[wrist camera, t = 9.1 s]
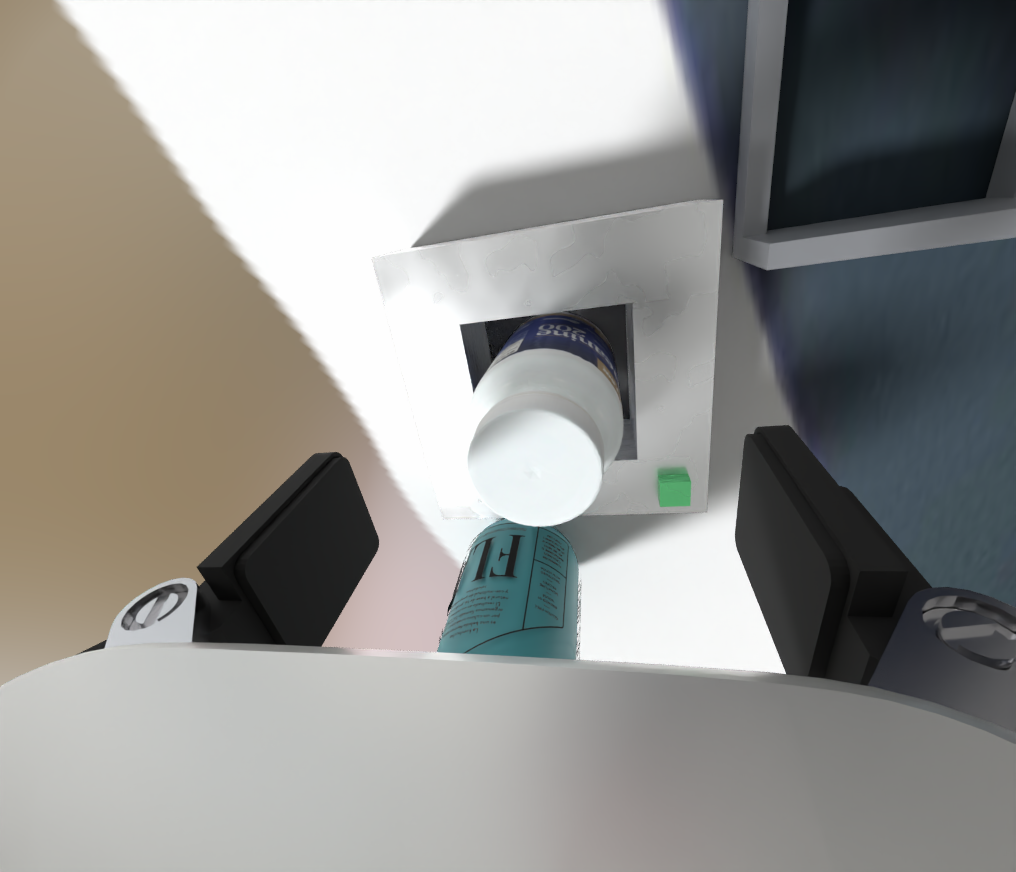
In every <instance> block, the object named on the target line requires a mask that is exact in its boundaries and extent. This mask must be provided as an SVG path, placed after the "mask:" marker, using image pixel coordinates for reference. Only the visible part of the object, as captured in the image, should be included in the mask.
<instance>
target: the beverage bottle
mask: <svg viewBox="0 0 1016 872" xmlns="http://www.w3.org/2000/svg"><path fill="white" fill-rule="evenodd" d="M477 536H478V535H477ZM477 536H476V537H477ZM476 537H475V538H476ZM471 543H472V542H471ZM470 548H471V547H470ZM470 548H469V549H470ZM469 549H468V550H469ZM467 552H468V551H467ZM464 560H465V559H464ZM465 562H466V561H465ZM463 564H464V562H463ZM465 564H466V565H465ZM465 564H464V565H465V567H464V565H462V568H463V567H464V569H463V572H462V568H461V571H460V574H459V577H458V581H457V584H456V587H455V590H454V594H453V599H452V601H451V603H450V605H449V607H448V612H449V610H450V609H451V611H450V613H449V617H448V620H447V623H446V626H445V629H444V632H443V633H442V634H443V635H442V638H441V639H440V640H441V641H440V642H439V643H440V644H439V647H438V650H437V652H442V653H461V654H480V655H500V656H519V657H537V658H555V659H572V660H576V653H577V652H578V650H579V648H578V650H577V652H576V646H577V643H578V642H577V635H578V634H577V624H578V622H579V620H578V622H577V619H578V618H577V614H578V612H579V611H578V610H577V607H578V600H579V599H578V587H579V586H578V562H577V558H576V556H575V553H574V551H573V548H572V546H571V545H570V543H569V542H568V540H567V539H566V538H565V537H564V536H563V535H562V534H561V533H560V532H558V531H557V530H556V529H554V528H552V527H551V526H541V527H540V526H528V525H523V524H519V523H515V522H512V521H510V520H508V519H504V520H500V521H498V522H495V523H493V524H491V525H490V526H488V527H487V528H486V529H484V530H483V531H482V532H481V533H480V535H479V536H478V537H477V539H476V540H475V542H474V543H473V545H472V548H471V550H470V553H469V556H468V559H467V562H466V563H465ZM461 573H462V575H461ZM460 575H461V578H460ZM459 578H460V579H461V580H459ZM580 581H581V580H580ZM458 582H460V584H459V583H458ZM458 584H459V587H458ZM579 585H580V584H579ZM457 587H458V589H457ZM580 588H581V585H580ZM580 593H581V592H580ZM579 597H580V596H579ZM579 602H581V600H580V601H579ZM452 604H453V605H452ZM580 605H581V604H579V606H580ZM451 606H452V607H451ZM579 608H580V607H578V609H579ZM577 611H578V612H577ZM579 614H580V616H581V608H580V612H579ZM447 616H448V615H447ZM578 617H579V615H578ZM579 618H580V617H579ZM579 630H580V628H579ZM579 644H580V643H579ZM579 644H578V645H579ZM577 647H578V646H577ZM578 654H579V652H578ZM578 654H577V657H578ZM578 658H580V656H579V657H578ZM577 660H578V659H577Z"/></svg>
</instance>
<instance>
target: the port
mask: <svg viewBox="0 0 1016 872" xmlns="http://www.w3.org/2000/svg"><path fill="white" fill-rule="evenodd" d="M722 214H723V199H712V200H692V201H686V202H680V203H674V204H668V205H662V206H657V207H651V208H645V209H639V210H633V211H627V212H621V213H615V214H609V215H603V216H597V217H591V218H585V219H579V220H573V221H567V222H561V223H556V224H550V225H544V226H538V227H532V228H526V229H520V230H514V231H508V232H502V233H496V234H490V235H484V236H478V237H472V238H466V239H460V240H455V241H449V242H443V243H437V244H431V245H425V246H419V247H413V248H408V249H404V250H400V251H396V252H392V253H388V254H384V255H381V256H377V257H373V258H372V262H373V266H374V269H375V273H376V277H377V280H378V284H379V287H380V291H381V295H382V298H383V302H384V306H385V309H386V313H387V317H388V320H389V324H390V328H391V331H392V335H393V339H394V342H395V346H396V349H397V353H398V357H399V360H400V364H401V368H402V371H403V375H404V379H405V382H406V386H407V390H408V393H409V397H410V400H411V404H412V408H413V411H414V415H415V419H416V422H417V426H418V430H419V433H420V437H421V441H422V444H423V448H424V452H425V455H426V459H427V462H428V466H429V470H430V473H431V477H432V481H433V484H434V488H435V492H436V495H437V499H438V503H439V506H440V510H441V514H442V517H443V519H479V518H504V517H502V516H499V515H498V514H496V513H495V512H494V511H492V510H491V509H490V508H488V507H487V506H486V505H485V504H484V503H483V502H482V500H481V499H480V498H479V497H478V495H477V494H476V492H475V490H474V489H473V487H472V484H471V482H470V479H469V475H468V471H467V457H468V451H469V447H470V439H469V435H468V427H467V416H468V409H469V405H470V401H471V398H472V396H473V393H474V391H475V389H476V387H477V385H478V383H479V382H480V380H481V379H482V377H483V376H484V374H485V373H486V371H487V370H488V368H489V367H490V365H491V364H492V360H491V354H490V348H489V343H488V337H487V332H486V326H485V321H492V320H500V319H508V318H516V317H523V316H531V315H539V314H547V313H555V312H563V311H571V310H579V309H587V308H595V307H603V306H611V305H619V304H625V309H626V335H627V361H628V387H629V413H630V419H623V437H622V441H621V445H620V448H619V451H618V453H617V455H616V457H615V459H614V461H613V463H612V464H611V466H610V467H609V468H608V470H607V471H606V472H605V473H604V475H603V482H602V485H601V488H600V491H599V493H598V495H597V497H596V499H595V500H594V502H593V503H592V504H591V505H590V507H589V508H587V509H586V510H585V511H584V512H583V513H582V514H580V515H579V516H589V515H626V514H663V513H699V512H707V501H708V482H709V463H710V444H711V424H712V405H713V386H714V367H715V348H716V329H717V310H718V290H719V271H720V252H721V233H722Z"/></svg>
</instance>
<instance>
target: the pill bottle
mask: <svg viewBox="0 0 1016 872" xmlns="http://www.w3.org/2000/svg"><path fill="white" fill-rule="evenodd" d="M467 427H468V435H469V439H470V447H469V451H468V457H467V471H468V475H469V479H470V482H471V484H472V487H473V489H474V490H475V492H476V494H477V495H478V497H479V498H480V499H481V500H482V502H483V503H484V504H485V505H486V506H487V507H488V508H490V509H491V510H492V511H494V512H495V513H496V514H498V515H499V516H502V517H504V518H506V519H508V520H510V521H512V522H515V523H519V524H523V525H528V526H540V527H541V526H553V525H557V524H561V523H564V522H567V521H570V520H572V519H573V518H575V517H577V516H579V515H580V514H582V513H583V512H584V511H585V510H586V509H587V508H589V507H590V505H591V504H592V503H593V502H594V500H595V499H596V497H597V495H598V493H599V491H600V488H601V485H602V482H603V475H604V473H605V472H606V471H607V470H608V468H609V467H610V466H611V464H612V463H613V461H614V459H615V457H616V455H617V453H618V451H619V448H620V445H621V441H622V437H623V412H622V403H621V397H620V389H619V383H618V376H617V369H616V363H615V358H614V354H613V351H612V348H611V345H610V343H609V341H608V340H607V338H606V336H605V335H604V334H603V333H602V331H601V330H600V329H599V328H598V327H597V326H596V325H595V324H593V323H592V322H590V321H589V320H587V319H585V318H583V317H581V316H579V315H575V314H571V313H568V312H555V313H547V314H540V315H537V316H535V317H533V318H531V319H529V320H527V321H526V322H524V323H523V324H522V325H520V326H519V327H518V328H517V329H516V330H515V331H514V333H513V334H512V335H511V336H510V338H509V339H508V340H507V342H506V343H505V345H504V346H503V348H502V349H501V350H500V352H499V353H498V355H497V356H496V358H495V359H494V361H493V362H492V364H491V365H490V367H489V368H488V370H487V371H486V373H485V374H484V376H483V377H482V379H481V380H480V382H479V383H478V385H477V387H476V389H475V391H474V393H473V396H472V398H471V401H470V405H469V409H468V416H467Z"/></svg>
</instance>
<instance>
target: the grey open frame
mask: <svg viewBox="0 0 1016 872" xmlns="http://www.w3.org/2000/svg"><path fill="white" fill-rule="evenodd" d="M787 9H788V0H749V2H748V17H747V33H746V49H745V65H744V80H743V96H742V112H741V128H740V143H739V159H738V175H737V191H736V206H735V222H734V238H733V254H732V257H734V258H736V259H739V260H741V261H744V262H747V263H749V264H752V265H755V266H757V267H760V268H762V269H765V270H773V269H781V268H788V267H796V266H803V265H811V264H818V263H826V262H833V261H841V260H849V259H856V258H864V257H871V256H879V255H886V254H894V253H901V252H909V251H917V250H924V249H932V248H939V247H947V246H954V245H962V244H970V243H977V242H985V241H992V240H1000V239H1007V238H1015V237H1016V92H1015V96H1014V99H1013V103H1012V106H1011V110H1010V113H1009V117H1008V120H1007V124H1006V128H1005V131H1004V135H1003V138H1002V142H1001V145H1000V149H999V152H998V156H997V159H996V163H995V166H994V170H993V173H992V177H991V180H990V184H989V187H988V191H987V194H986V198H982V199H975V200H968V201H962V202H955V203H948V204H942V205H935V206H928V207H922V208H915V209H908V210H902V211H895V212H888V213H881V214H875V215H868V216H861V217H855V218H848V219H841V220H835V221H828V222H821V223H815V224H808V225H801V226H795V227H788V228H781V229H775V230H768V231H767V223H768V212H769V201H770V190H771V180H772V169H773V158H774V148H775V137H776V126H777V116H778V105H779V94H780V83H781V73H782V62H783V51H784V41H785V30H786V19H787Z"/></svg>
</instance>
